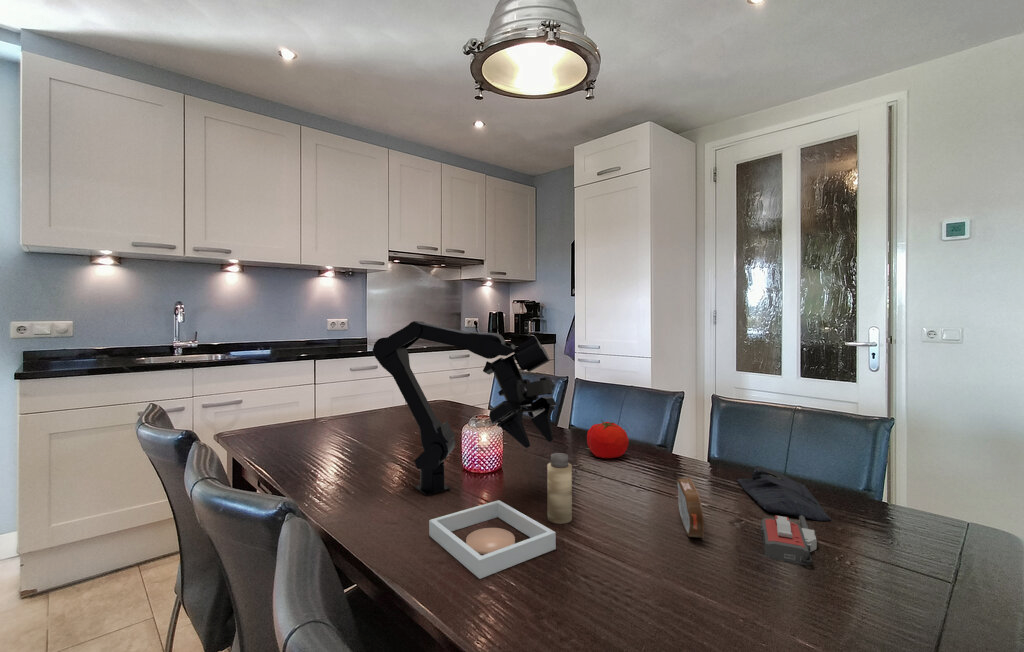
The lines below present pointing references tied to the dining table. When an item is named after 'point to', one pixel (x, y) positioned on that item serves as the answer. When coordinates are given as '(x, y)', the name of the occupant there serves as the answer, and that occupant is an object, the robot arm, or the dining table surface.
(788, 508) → the dark folded cloth
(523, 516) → the white square frame
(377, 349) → the robot arm
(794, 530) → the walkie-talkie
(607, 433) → the tomato
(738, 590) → the dining table surface
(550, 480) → the pepper mill
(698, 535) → the tin
